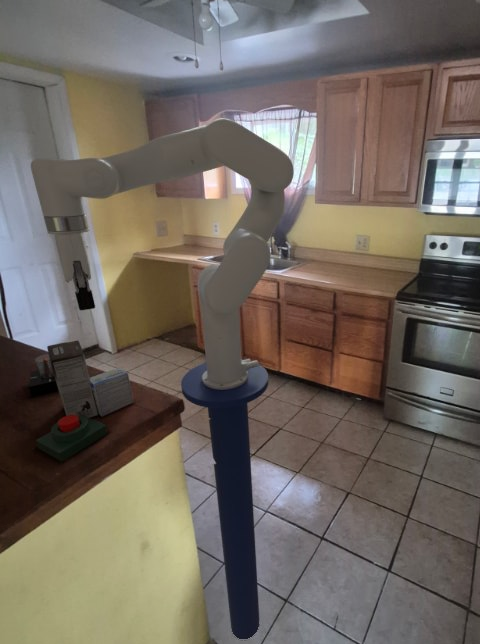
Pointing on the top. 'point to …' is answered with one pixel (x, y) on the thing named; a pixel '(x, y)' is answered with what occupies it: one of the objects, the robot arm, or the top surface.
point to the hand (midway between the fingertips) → (87, 308)
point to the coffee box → (72, 379)
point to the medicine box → (111, 391)
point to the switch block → (71, 438)
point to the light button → (68, 423)
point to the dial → (44, 366)
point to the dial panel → (41, 384)
